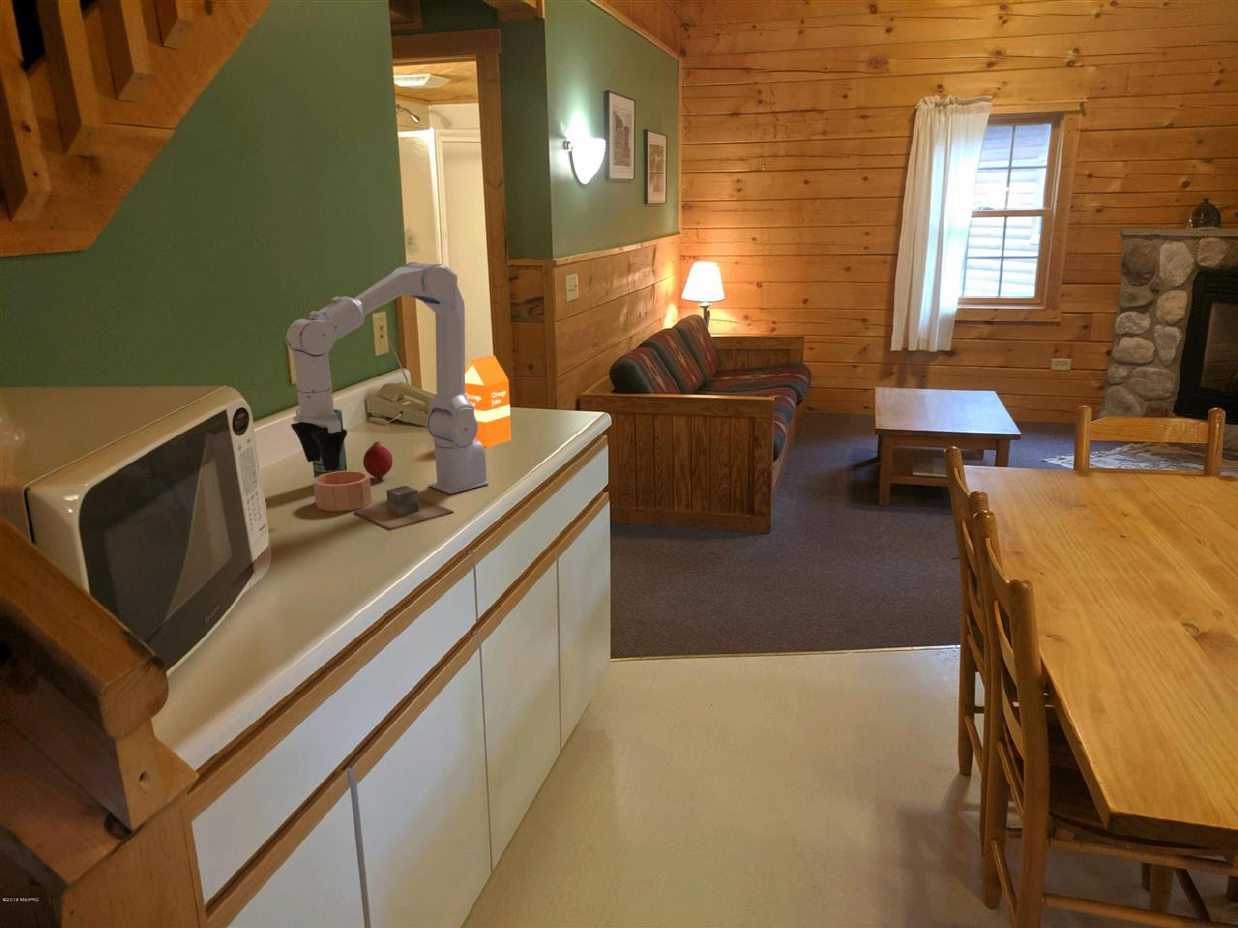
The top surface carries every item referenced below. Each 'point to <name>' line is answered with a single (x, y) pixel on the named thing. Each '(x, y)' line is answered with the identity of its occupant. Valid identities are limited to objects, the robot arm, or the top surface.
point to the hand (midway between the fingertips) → (322, 465)
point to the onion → (377, 460)
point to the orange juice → (489, 400)
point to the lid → (402, 509)
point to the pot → (342, 491)
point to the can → (342, 465)
